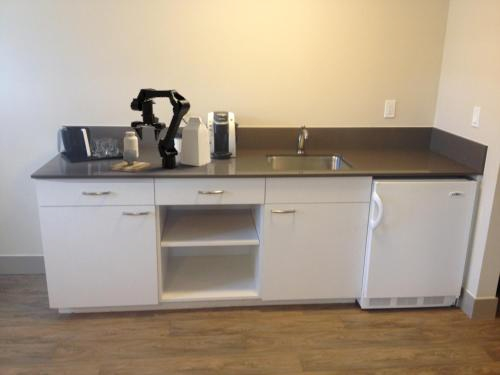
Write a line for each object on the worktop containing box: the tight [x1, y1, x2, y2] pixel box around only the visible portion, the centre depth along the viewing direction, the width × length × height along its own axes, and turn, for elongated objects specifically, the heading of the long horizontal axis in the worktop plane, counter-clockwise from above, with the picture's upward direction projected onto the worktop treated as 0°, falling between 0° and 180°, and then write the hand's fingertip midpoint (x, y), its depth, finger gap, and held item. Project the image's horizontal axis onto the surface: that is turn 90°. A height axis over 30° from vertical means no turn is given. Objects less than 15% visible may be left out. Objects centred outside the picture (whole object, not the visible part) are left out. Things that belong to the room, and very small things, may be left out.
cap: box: [122, 150, 138, 162], centre depth 242 cm, size 7×7×5 cm
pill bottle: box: [123, 131, 139, 158], centre depth 266 cm, size 8×8×15 cm
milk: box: [181, 115, 211, 167], centre depth 253 cm, size 12×12×26 cm
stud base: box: [109, 160, 152, 173], centre depth 243 cm, size 16×15×4 cm
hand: (149, 140), depth 250 cm, fingers open, 9 cm apart
